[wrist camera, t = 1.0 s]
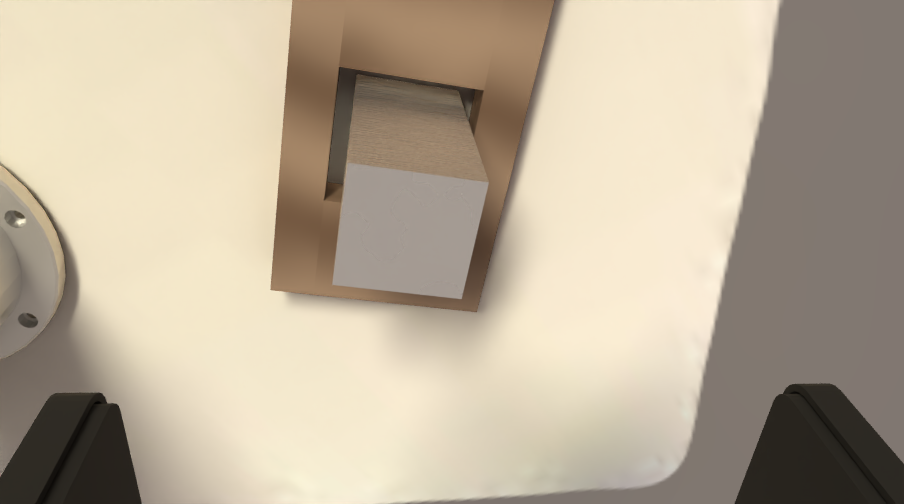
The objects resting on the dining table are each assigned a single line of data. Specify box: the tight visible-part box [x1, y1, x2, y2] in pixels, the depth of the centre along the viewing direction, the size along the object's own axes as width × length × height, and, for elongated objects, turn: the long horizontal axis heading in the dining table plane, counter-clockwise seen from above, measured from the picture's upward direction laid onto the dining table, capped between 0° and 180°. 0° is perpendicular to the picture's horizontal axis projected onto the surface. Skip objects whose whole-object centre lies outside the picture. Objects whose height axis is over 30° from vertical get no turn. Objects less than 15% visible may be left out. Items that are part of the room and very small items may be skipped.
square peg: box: [332, 74, 489, 299], centre depth 27 cm, size 4×4×10 cm
